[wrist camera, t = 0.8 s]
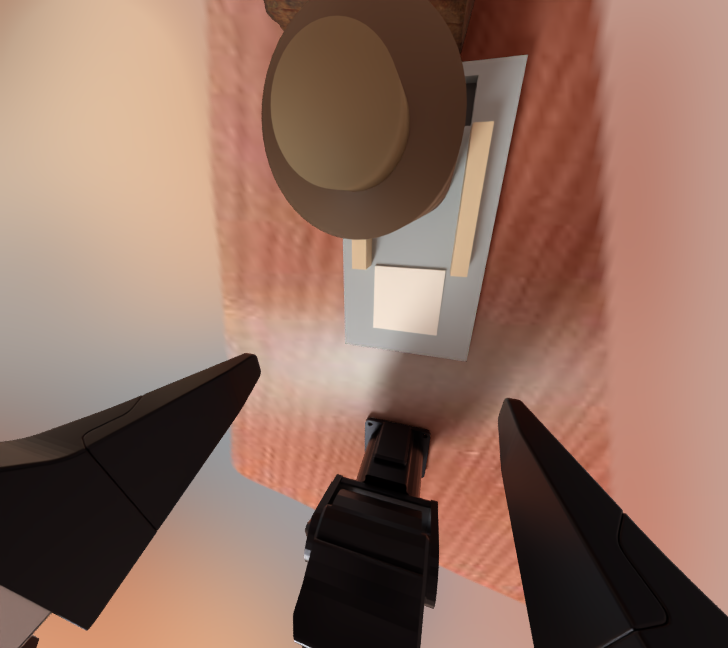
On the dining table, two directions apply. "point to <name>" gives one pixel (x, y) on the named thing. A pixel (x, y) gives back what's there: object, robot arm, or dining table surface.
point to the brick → (450, 3)
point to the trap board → (439, 237)
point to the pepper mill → (364, 114)
